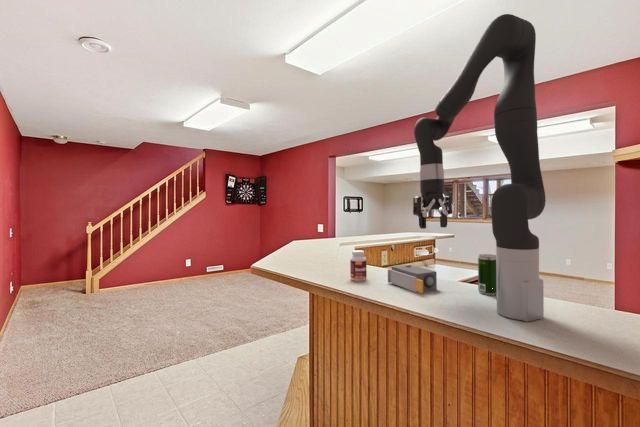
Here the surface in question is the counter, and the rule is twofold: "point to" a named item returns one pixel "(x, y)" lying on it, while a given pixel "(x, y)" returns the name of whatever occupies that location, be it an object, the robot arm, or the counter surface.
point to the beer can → (487, 274)
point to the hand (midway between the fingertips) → (433, 227)
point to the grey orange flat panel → (405, 281)
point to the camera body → (420, 275)
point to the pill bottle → (358, 266)
